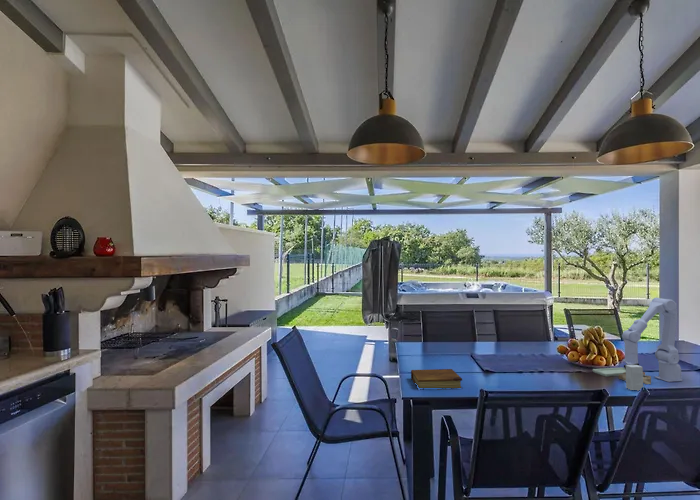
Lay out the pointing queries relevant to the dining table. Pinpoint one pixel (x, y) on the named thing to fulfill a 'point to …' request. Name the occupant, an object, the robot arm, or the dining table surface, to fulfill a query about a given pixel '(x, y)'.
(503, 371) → the dining table surface
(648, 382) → the tan rectangular frame
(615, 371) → the tray
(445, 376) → the diary
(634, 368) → the skincare box
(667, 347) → the robot arm
